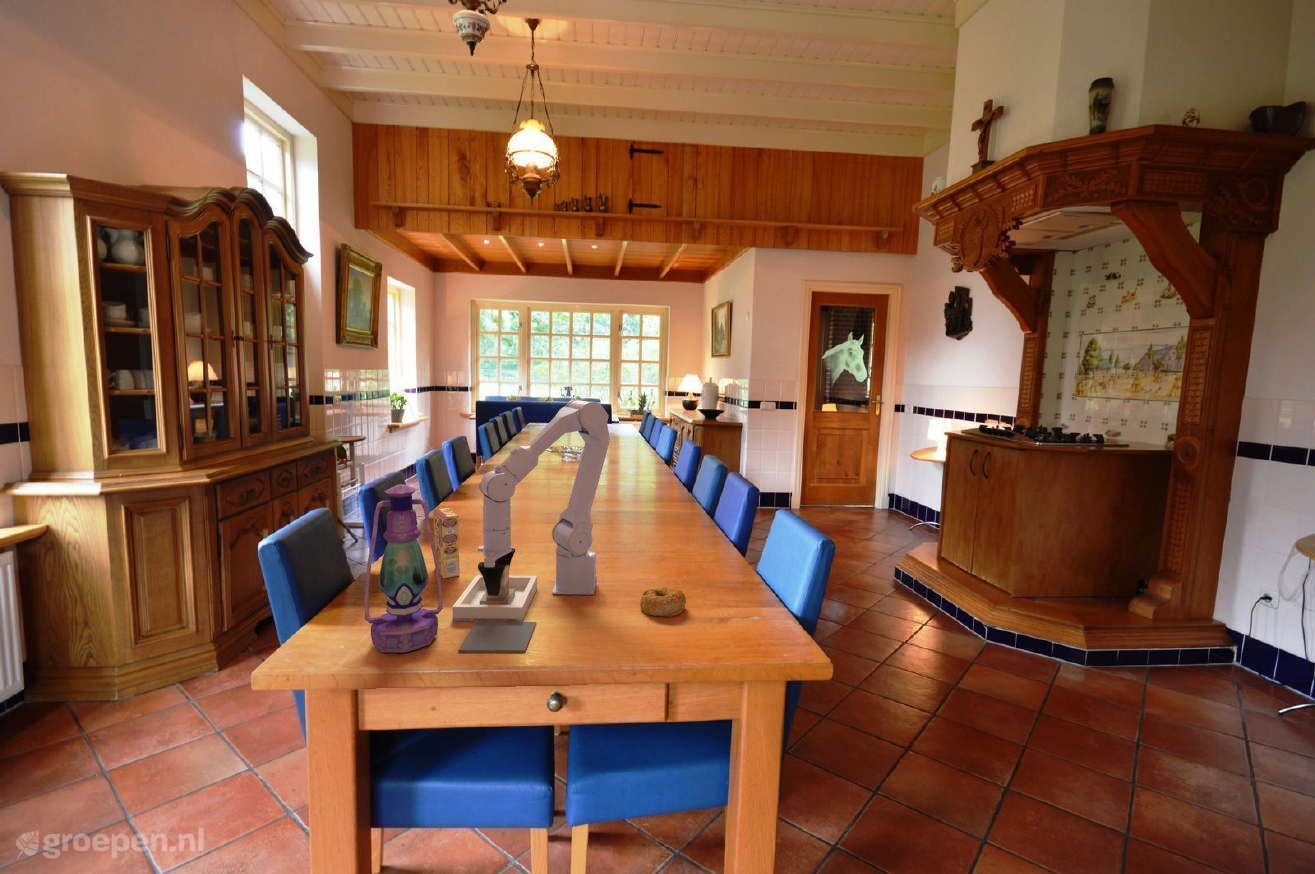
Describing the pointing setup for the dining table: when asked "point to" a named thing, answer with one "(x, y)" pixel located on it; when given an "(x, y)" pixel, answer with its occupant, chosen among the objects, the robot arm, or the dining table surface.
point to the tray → (495, 601)
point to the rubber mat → (498, 637)
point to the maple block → (502, 585)
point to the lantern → (402, 578)
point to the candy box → (446, 541)
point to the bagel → (663, 602)
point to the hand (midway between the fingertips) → (497, 588)
